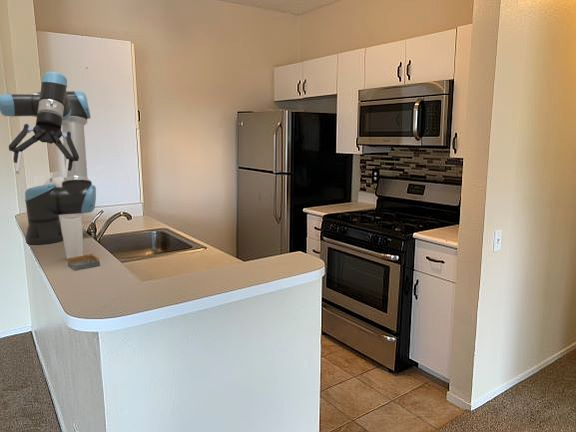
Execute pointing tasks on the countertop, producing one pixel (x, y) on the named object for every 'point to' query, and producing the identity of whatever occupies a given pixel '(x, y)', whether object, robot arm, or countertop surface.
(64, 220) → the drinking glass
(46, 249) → the countertop surface
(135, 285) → the countertop surface
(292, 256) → the countertop surface
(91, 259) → the square coaster
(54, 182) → the milk
